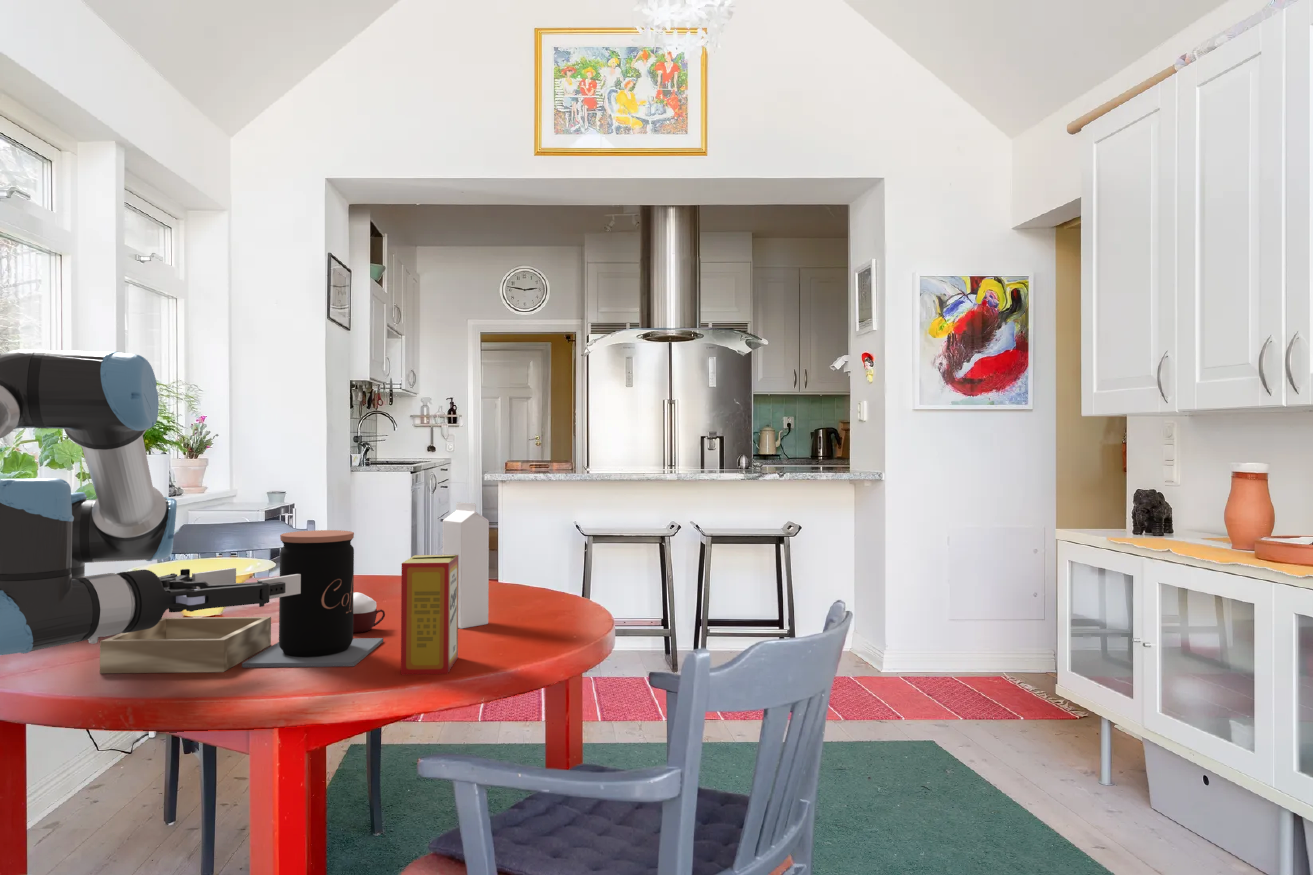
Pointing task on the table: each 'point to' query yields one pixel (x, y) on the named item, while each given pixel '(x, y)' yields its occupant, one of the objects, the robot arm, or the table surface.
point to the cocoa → (364, 613)
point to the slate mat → (346, 658)
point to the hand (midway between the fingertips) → (266, 580)
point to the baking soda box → (429, 614)
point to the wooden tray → (186, 645)
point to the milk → (469, 561)
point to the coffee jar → (317, 593)
